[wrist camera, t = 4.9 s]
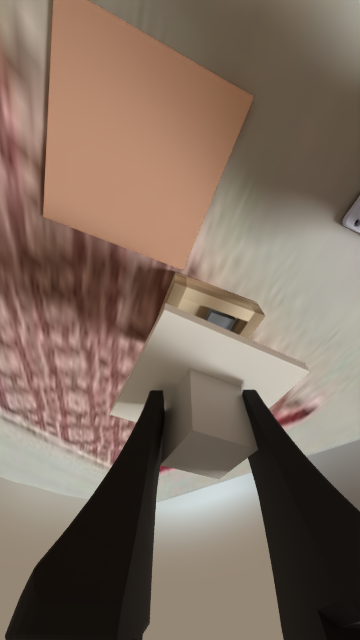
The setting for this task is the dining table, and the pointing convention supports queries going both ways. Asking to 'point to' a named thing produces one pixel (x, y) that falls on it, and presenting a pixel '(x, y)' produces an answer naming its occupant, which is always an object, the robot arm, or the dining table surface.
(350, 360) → the dining table surface
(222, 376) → the lid
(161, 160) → the mat
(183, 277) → the box
